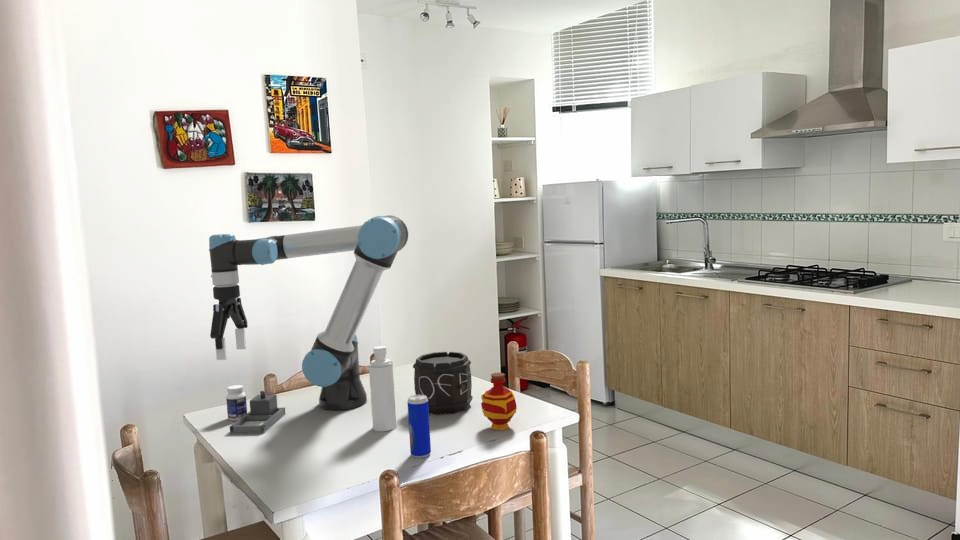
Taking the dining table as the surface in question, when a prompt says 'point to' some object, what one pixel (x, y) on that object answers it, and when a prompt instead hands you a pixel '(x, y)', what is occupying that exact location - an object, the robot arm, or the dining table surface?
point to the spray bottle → (382, 391)
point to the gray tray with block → (259, 415)
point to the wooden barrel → (444, 381)
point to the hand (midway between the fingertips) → (231, 354)
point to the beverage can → (419, 426)
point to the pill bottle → (236, 402)
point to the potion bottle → (498, 403)
